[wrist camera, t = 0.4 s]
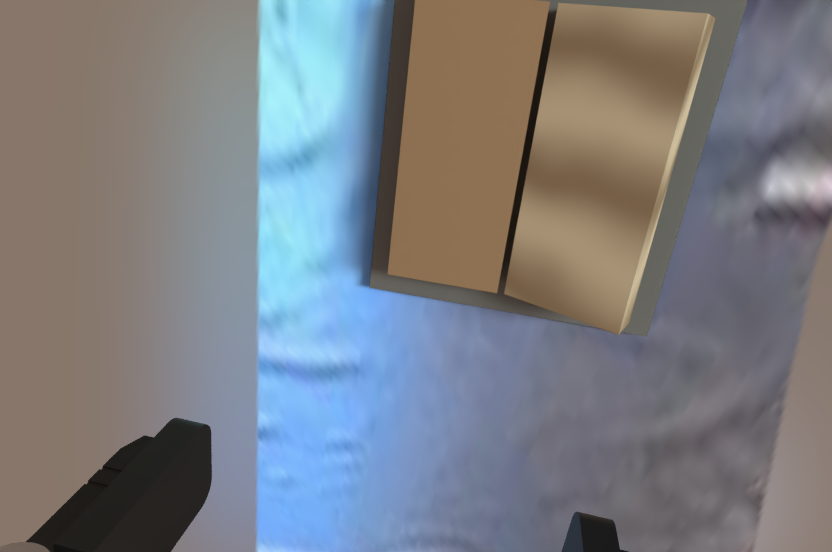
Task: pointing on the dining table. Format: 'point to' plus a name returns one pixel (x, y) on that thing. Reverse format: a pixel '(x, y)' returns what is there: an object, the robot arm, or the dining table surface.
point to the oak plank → (603, 156)
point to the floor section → (498, 146)
